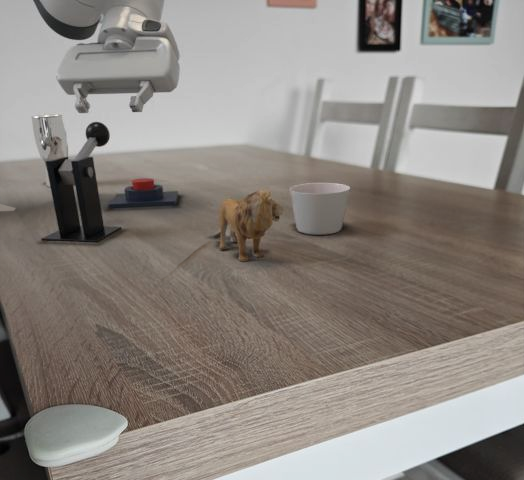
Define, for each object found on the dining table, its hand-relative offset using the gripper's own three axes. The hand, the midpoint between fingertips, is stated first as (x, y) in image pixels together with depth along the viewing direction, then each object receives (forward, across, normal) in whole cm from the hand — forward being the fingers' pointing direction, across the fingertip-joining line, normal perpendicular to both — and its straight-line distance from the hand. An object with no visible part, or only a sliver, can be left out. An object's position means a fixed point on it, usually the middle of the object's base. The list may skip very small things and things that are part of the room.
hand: (107, 110), depth 88 cm
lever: (+11, 0, -1) cm, 11 cm away
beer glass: (-10, -31, +34) cm, 47 cm away
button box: (+5, 0, +20) cm, 20 cm away
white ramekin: (+15, +35, +10) cm, 39 cm away
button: (+3, 0, +18) cm, 18 cm away
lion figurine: (+24, +26, +1) cm, 36 cm away
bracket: (+22, 0, +3) cm, 22 cm away
